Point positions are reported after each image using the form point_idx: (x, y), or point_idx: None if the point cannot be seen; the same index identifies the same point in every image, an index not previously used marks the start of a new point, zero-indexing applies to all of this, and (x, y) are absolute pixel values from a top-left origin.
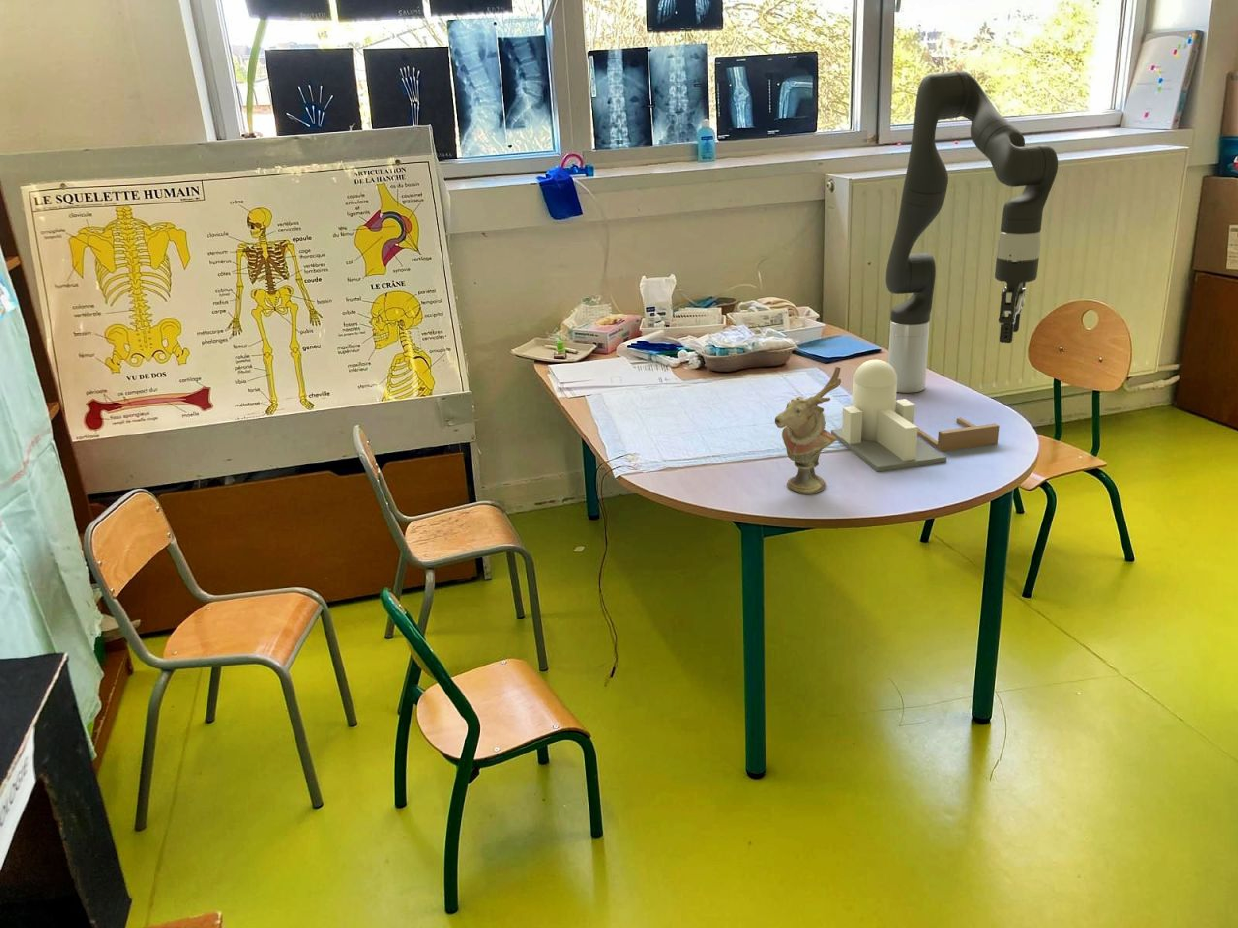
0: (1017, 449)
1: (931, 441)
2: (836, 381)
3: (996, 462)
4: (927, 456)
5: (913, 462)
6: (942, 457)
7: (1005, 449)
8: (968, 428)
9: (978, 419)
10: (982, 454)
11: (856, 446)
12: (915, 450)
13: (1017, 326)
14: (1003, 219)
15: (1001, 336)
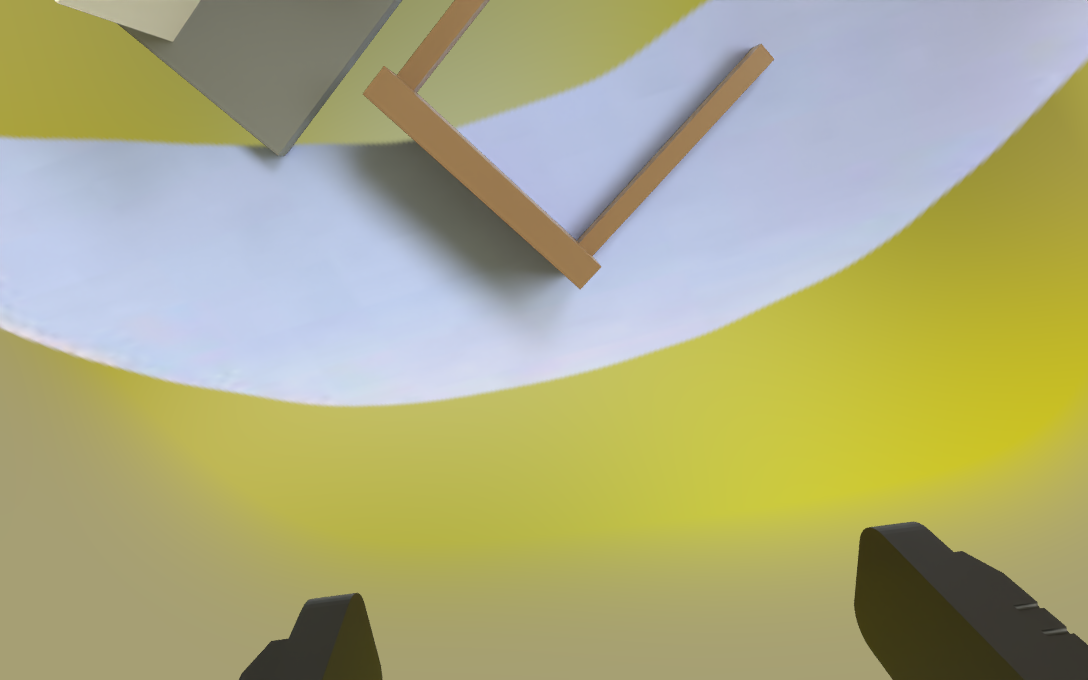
0: (544, 347)
1: (432, 31)
2: None
3: (386, 320)
4: (237, 80)
5: (144, 44)
6: (265, 142)
7: (525, 312)
8: (486, 182)
9: (814, 126)
10: (436, 256)
11: None
12: (144, 31)
13: (903, 674)
14: None
15: (286, 667)
